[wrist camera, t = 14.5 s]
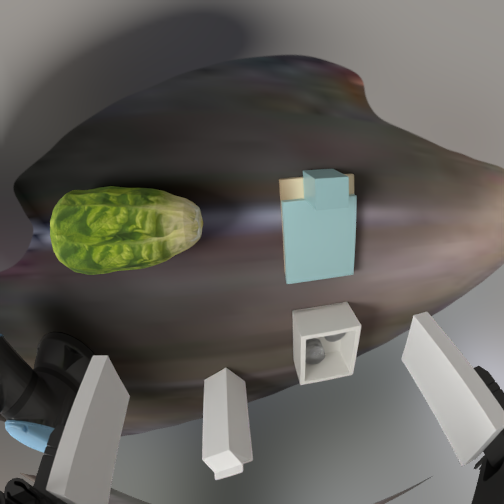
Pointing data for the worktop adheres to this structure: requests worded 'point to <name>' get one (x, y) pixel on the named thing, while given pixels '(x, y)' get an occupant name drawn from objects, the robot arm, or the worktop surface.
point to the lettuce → (122, 228)
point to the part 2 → (334, 337)
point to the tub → (325, 341)
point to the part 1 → (314, 351)
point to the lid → (320, 228)
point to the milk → (226, 424)
